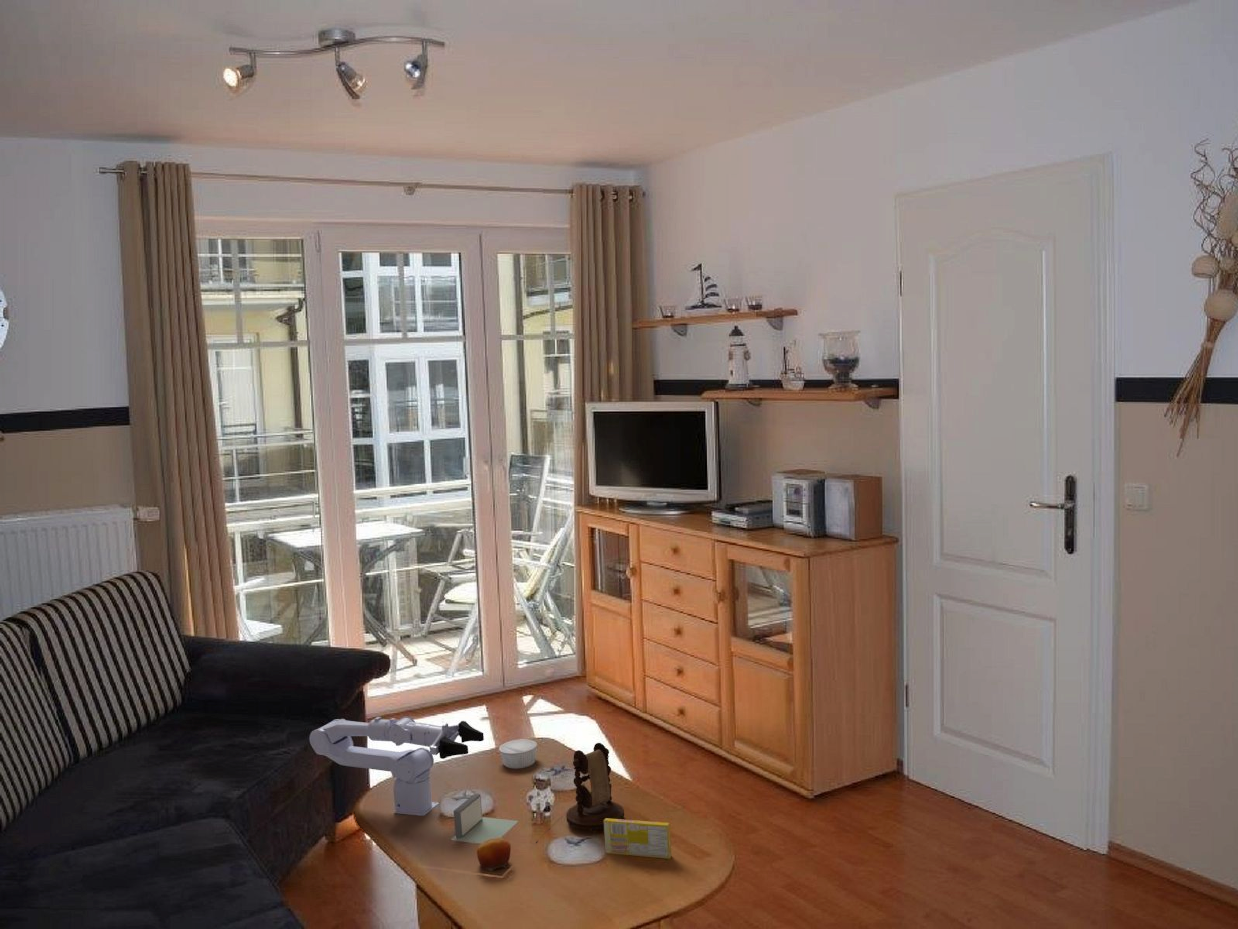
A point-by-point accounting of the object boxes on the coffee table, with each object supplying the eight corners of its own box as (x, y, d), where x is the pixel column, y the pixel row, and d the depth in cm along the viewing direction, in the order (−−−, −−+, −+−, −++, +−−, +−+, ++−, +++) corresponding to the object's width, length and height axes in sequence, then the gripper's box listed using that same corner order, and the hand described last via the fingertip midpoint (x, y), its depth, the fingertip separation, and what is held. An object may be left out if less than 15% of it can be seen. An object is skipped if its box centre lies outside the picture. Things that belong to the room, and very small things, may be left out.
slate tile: (455, 837, 285) (453, 811, 284) (477, 819, 295) (474, 793, 294) (461, 838, 284) (459, 811, 284) (483, 819, 295) (480, 794, 294)
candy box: (672, 855, 269) (670, 822, 268) (669, 860, 267) (667, 826, 266) (608, 849, 274) (605, 817, 273) (605, 853, 272) (602, 820, 271)
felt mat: (450, 841, 284) (450, 840, 284) (477, 818, 297) (477, 816, 297) (492, 846, 280) (492, 845, 279) (518, 822, 292) (518, 821, 292)
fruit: (488, 875, 262) (479, 840, 265) (479, 880, 268) (470, 846, 271) (520, 865, 266) (511, 831, 268) (510, 870, 272) (502, 837, 275)
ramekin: (495, 770, 329) (494, 753, 328) (505, 756, 340) (504, 739, 339) (533, 770, 327) (532, 753, 326) (542, 756, 338) (541, 739, 337)
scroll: (592, 840, 279) (586, 762, 277) (555, 823, 290) (549, 748, 288) (636, 820, 289) (631, 745, 287) (599, 805, 300) (593, 732, 298)
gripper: (413, 734, 292) (458, 741, 287) (444, 710, 305) (488, 717, 300) (416, 759, 294) (461, 767, 288) (447, 734, 307) (490, 741, 301)
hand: (475, 743), depth 294 cm, fingers open, 7 cm apart
